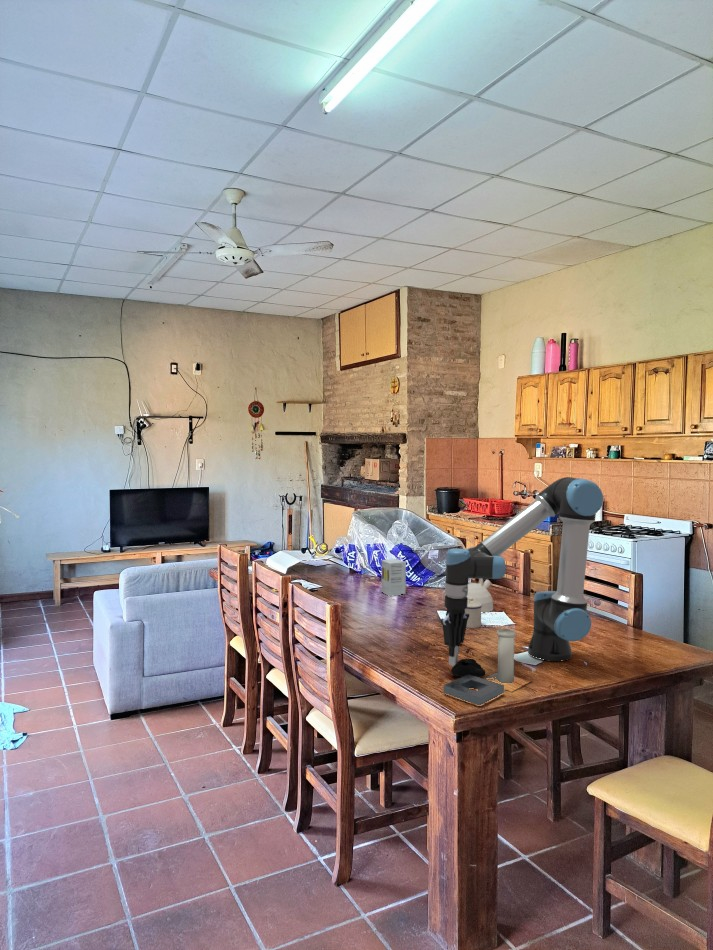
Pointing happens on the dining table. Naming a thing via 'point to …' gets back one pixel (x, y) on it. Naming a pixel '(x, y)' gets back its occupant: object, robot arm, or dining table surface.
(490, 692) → the housing
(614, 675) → the dining table surface
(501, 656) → the cream upright pillar
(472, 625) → the teacup with lid
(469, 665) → the rock
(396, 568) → the supplement box
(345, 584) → the dining table surface
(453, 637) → the robot arm
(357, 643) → the dining table surface
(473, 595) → the kettle
